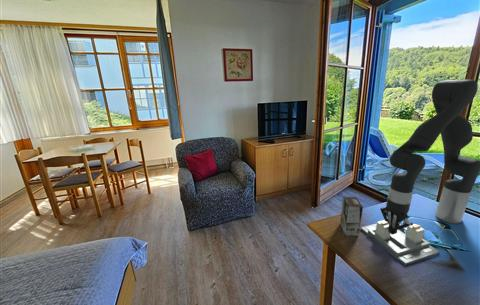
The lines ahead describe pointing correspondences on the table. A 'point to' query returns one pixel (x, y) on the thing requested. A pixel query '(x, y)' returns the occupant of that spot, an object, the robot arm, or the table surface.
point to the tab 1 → (382, 229)
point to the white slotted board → (402, 246)
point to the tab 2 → (415, 233)
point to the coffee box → (351, 216)
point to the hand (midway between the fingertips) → (391, 233)
